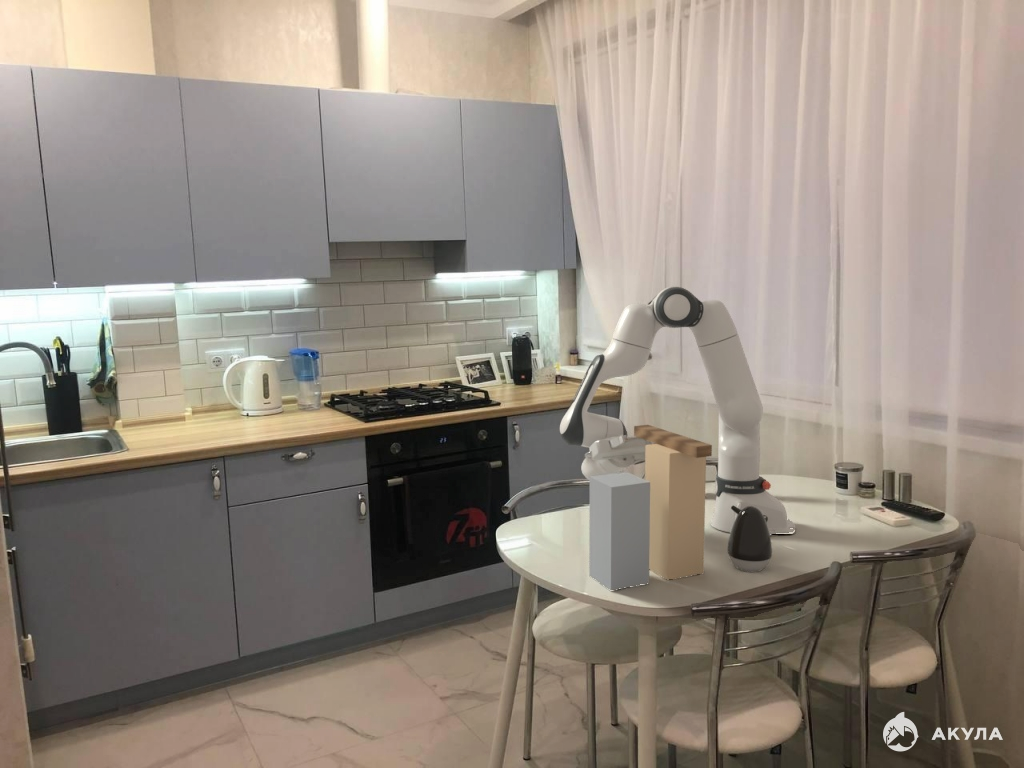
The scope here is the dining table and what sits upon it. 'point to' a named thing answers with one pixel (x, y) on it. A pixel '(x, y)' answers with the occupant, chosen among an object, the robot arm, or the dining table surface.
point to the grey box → (619, 530)
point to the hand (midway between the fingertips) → (641, 436)
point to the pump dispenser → (749, 540)
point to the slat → (673, 441)
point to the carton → (675, 511)
